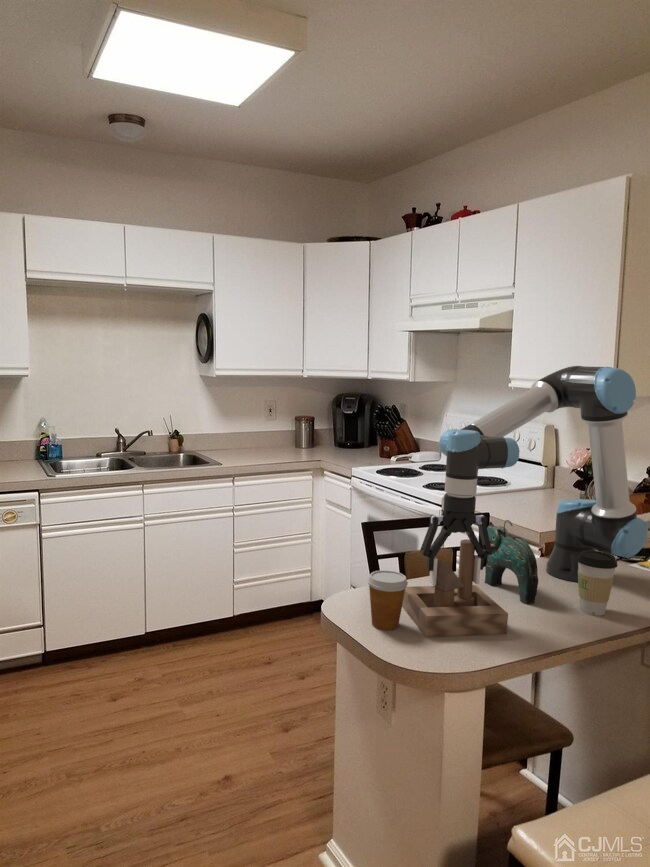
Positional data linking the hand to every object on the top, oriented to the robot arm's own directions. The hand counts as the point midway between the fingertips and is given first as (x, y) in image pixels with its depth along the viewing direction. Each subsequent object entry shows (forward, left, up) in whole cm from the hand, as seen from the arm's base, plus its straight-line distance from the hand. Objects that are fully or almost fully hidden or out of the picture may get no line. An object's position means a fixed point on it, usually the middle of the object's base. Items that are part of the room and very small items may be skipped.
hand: (454, 582), depth 162 cm
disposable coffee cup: (+18, +2, -9) cm, 20 cm away
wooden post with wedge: (0, 0, -8) cm, 8 cm away
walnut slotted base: (0, 0, -9) cm, 9 cm away
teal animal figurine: (-23, -17, -10) cm, 30 cm away
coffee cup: (-39, -2, -9) cm, 41 cm away
